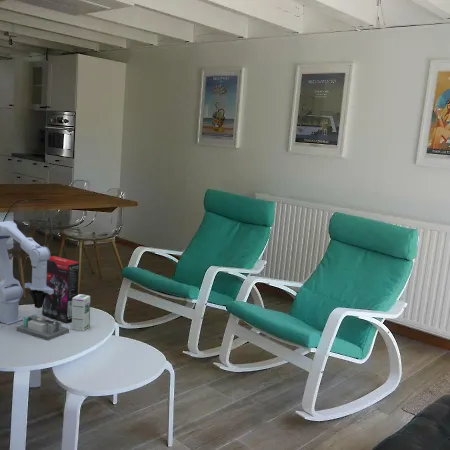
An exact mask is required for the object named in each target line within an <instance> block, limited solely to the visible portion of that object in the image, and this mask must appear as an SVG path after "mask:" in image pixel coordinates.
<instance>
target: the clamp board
mask: <svg viewBox="0 0 450 450" xmlns="http://www.w3.org/2000/svg"><path fill="white" fill-rule="evenodd" d="M32 315H33V316H36V317H38V316H37V315H38V314H37V315H36V314H32ZM46 319H47V320H51V321H54V322H58V325H55V326H54V325H52V324H45V323H41V322H38V321H34V320H30V321H29V318H28V316H27V317H23V324H21V325H18V326H16V327H15V328H16V329H15V330H16V331H17V332H20V333H24V334H26V335H31V336H32V337H36V338H39V339H43V340H46V341H50V340H53V339H56V338H58V337H60V336H64V335H65V334H68V333H70V328H68V327H64V326H62V323H63V321H60V320H57V321H55V320H52V319H49V318H46Z"/></svg>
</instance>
